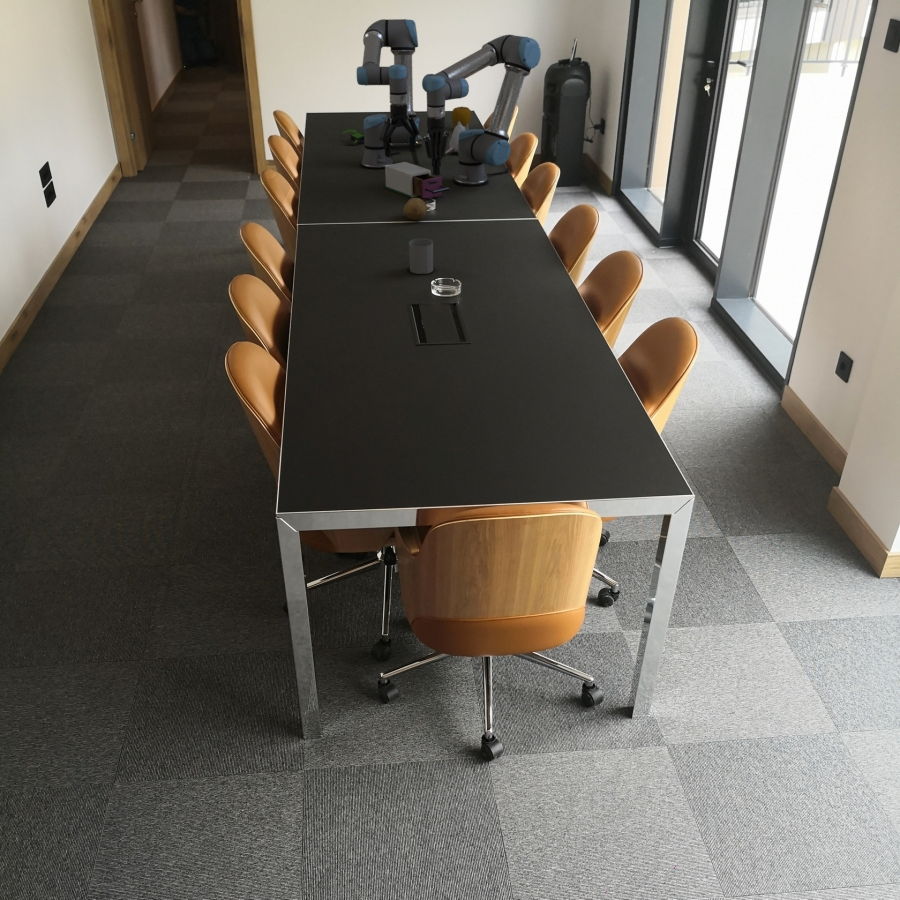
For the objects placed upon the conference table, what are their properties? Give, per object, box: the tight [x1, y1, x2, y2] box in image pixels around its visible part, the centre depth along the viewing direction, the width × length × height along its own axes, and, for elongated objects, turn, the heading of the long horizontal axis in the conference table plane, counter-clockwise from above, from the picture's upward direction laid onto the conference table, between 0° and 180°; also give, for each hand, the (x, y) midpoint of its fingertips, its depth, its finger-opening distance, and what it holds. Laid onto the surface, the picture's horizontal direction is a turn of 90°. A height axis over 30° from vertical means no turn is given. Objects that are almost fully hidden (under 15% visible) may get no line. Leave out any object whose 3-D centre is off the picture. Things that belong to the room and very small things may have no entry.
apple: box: [451, 105, 472, 129], centre depth 487 cm, size 11×11×13 cm
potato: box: [403, 197, 428, 221], centre depth 354 cm, size 10×14×8 cm
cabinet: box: [384, 161, 432, 198], centre depth 389 cm, size 19×11×10 cm, turn 39°
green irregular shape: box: [340, 129, 365, 146], centre depth 465 cm, size 6×13×30 cm
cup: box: [408, 237, 434, 275], centre depth 305 cm, size 8×8×10 cm
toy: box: [445, 121, 470, 155], centre depth 440 cm, size 9×24×15 cm, turn 137°
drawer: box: [412, 174, 450, 199], centre depth 381 cm, size 23×10×8 cm, turn 39°
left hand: (400, 154), depth 387 cm, fingers open, 13 cm apart
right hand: (436, 174), depth 372 cm, fingers closed
